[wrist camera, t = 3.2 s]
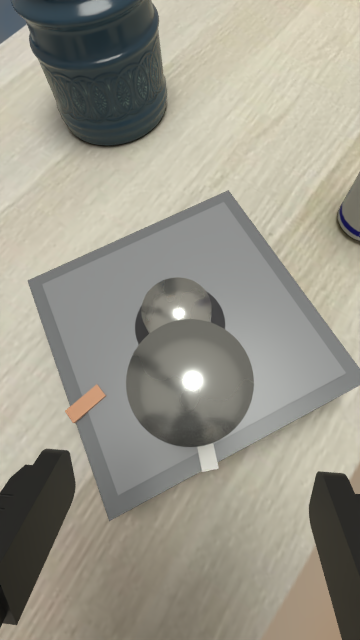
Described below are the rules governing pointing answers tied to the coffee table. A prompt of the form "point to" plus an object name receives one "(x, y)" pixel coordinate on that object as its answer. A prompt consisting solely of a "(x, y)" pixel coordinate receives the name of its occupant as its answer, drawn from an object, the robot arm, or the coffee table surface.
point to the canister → (100, 64)
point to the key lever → (187, 369)
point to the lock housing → (227, 312)
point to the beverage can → (351, 211)
